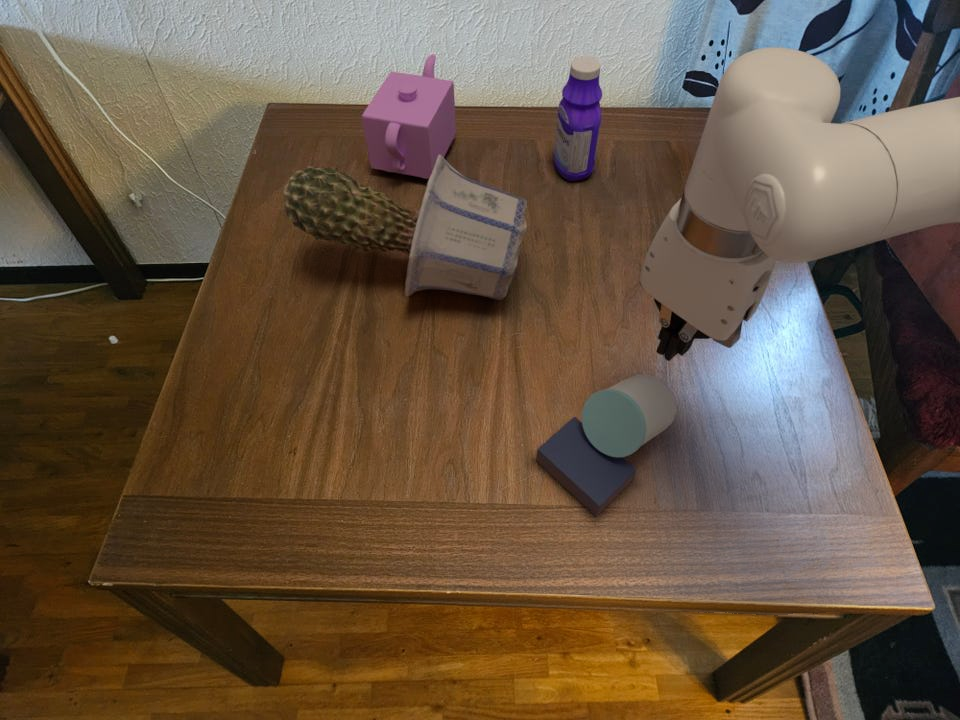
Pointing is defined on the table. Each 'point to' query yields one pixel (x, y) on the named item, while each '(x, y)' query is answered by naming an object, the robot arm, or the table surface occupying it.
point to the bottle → (579, 120)
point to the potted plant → (419, 226)
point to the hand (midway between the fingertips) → (671, 348)
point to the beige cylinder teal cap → (628, 414)
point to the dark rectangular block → (584, 467)
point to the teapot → (410, 122)
